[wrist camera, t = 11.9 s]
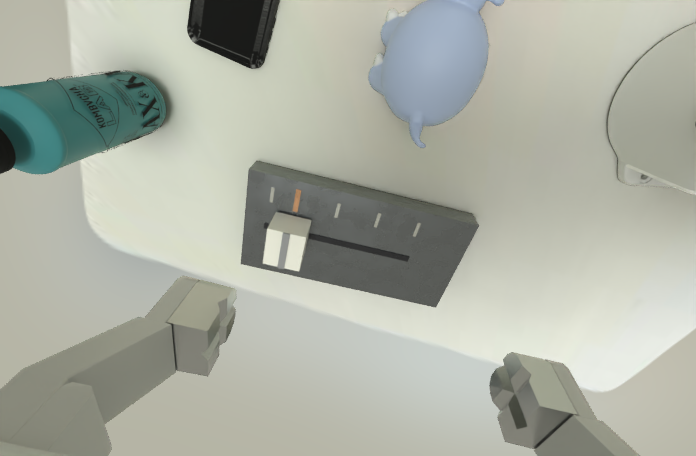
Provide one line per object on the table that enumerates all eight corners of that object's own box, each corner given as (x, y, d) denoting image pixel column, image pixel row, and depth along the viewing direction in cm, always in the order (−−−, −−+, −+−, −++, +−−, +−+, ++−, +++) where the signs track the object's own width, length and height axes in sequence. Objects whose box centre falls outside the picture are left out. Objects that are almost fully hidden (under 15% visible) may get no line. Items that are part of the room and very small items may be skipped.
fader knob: (311, 220, 39) (305, 238, 36) (304, 252, 42) (298, 272, 38) (276, 211, 39) (266, 229, 35) (271, 244, 42) (262, 264, 38)
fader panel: (472, 213, 41) (479, 226, 39) (432, 293, 48) (436, 307, 46) (256, 160, 39) (248, 169, 37) (247, 251, 46) (240, 264, 44)
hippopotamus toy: (520, -23, 29) (580, -47, 21) (448, 136, 37) (471, 164, 28) (409, -65, 28) (426, -108, 20) (358, 107, 36) (355, 128, 27)
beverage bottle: (156, 140, 39) (-14, 221, 22) (105, 95, 36) (-130, 146, 19) (187, 103, 36) (23, 161, 19) (135, 52, 34) (-105, 66, 17)
